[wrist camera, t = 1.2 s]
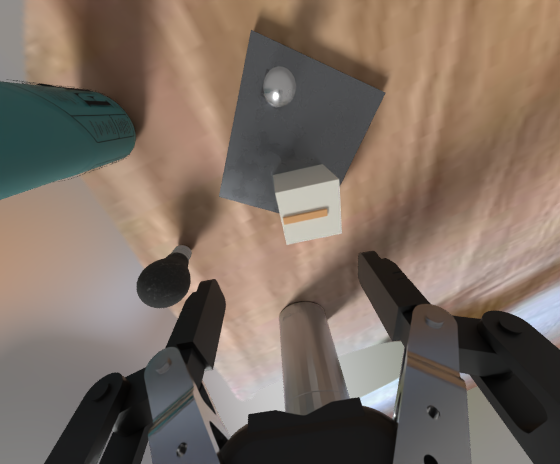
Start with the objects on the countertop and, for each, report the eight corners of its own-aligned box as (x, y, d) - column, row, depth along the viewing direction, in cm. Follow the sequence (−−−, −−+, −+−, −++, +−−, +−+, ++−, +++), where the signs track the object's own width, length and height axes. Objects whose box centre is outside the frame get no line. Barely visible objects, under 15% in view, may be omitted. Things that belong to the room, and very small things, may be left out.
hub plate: (378, 93, 22) (413, 88, 17) (318, 219, 29) (329, 242, 24) (252, 35, 19) (247, 7, 14) (221, 192, 26) (210, 212, 21)
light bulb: (157, 239, 29) (112, 292, 21) (192, 228, 29) (161, 277, 20) (178, 267, 32) (147, 323, 24) (210, 257, 32) (190, 311, 23)
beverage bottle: (143, 100, 21) (-424, 50, 4) (148, 165, 24) (-141, 297, 7) (70, 81, 20) (-1228, -117, 3) (86, 151, 23) (-442, 271, 6)
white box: (322, 164, 24) (340, 180, 18) (326, 209, 27) (342, 235, 21) (273, 175, 24) (275, 194, 19) (282, 218, 27) (287, 246, 22)
